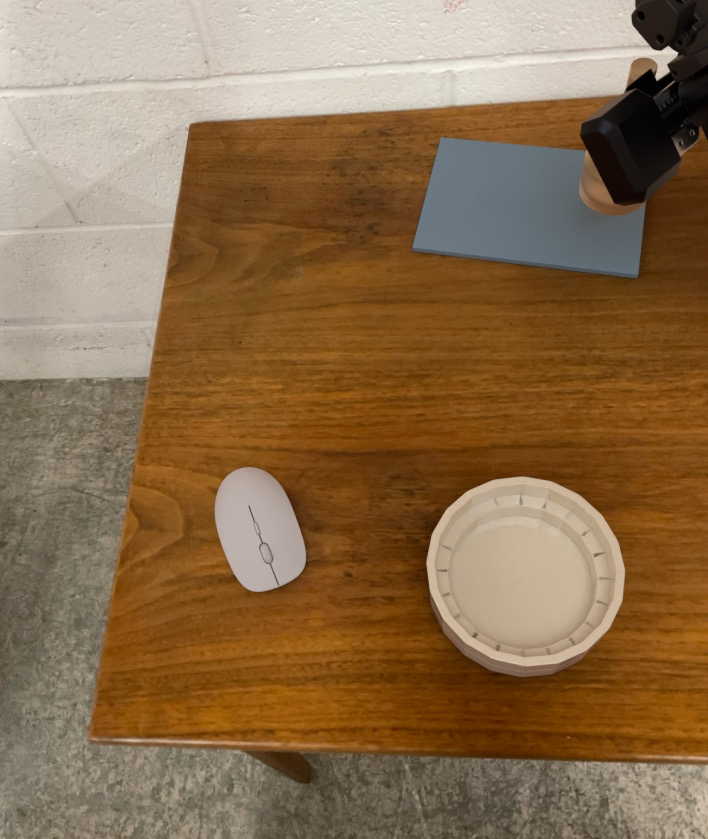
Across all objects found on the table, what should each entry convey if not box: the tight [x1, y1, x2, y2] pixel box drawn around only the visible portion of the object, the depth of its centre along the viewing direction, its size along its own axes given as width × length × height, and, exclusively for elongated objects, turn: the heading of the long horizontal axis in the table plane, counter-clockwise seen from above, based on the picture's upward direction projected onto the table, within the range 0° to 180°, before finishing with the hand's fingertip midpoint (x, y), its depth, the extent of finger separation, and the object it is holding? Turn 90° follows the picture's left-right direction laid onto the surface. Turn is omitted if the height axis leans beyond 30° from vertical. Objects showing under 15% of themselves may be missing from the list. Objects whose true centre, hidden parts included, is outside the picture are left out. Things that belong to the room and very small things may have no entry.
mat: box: [411, 136, 647, 279], centre depth 75 cm, size 20×14×1 cm
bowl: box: [425, 476, 626, 678], centre depth 57 cm, size 13×13×4 cm
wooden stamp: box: [579, 57, 659, 216], centre depth 61 cm, size 6×6×12 cm
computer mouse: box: [214, 466, 307, 593], centre depth 61 cm, size 6×10×3 cm, turn 21°
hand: (615, 118), depth 61 cm, fingers closed on wooden stamp
